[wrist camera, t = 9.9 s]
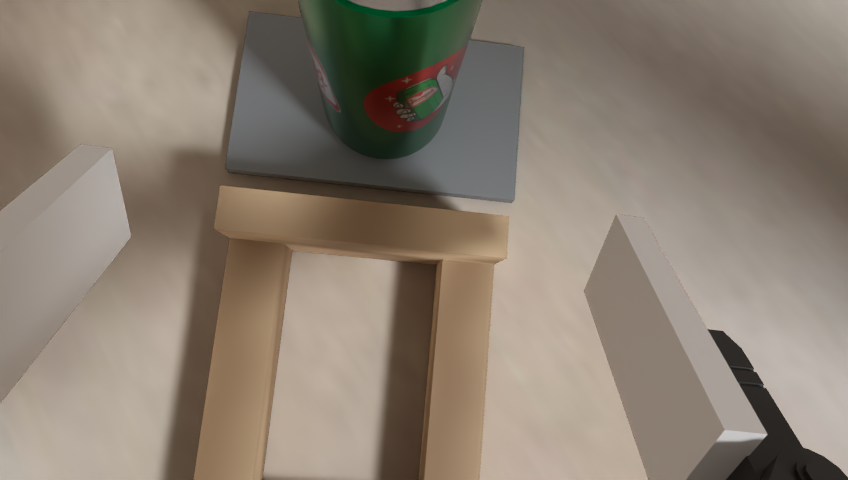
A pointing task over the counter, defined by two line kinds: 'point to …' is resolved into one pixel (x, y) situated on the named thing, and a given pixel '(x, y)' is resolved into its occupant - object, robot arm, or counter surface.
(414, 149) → the soda can
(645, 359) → the robot arm
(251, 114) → the rubber mat
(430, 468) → the oak frame
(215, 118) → the counter surface
